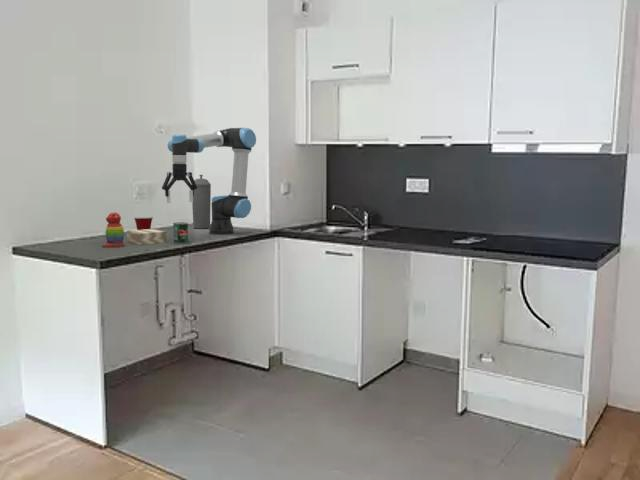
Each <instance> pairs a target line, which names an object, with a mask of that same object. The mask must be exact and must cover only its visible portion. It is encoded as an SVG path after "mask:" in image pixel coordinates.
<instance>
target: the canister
mask: <svg viewBox="0 0 640 480" xmlns="http://www.w3.org/2000/svg"><path fill="white" fill-rule="evenodd" d="M203 176H204V175H203V174H199V178H196V179H194V181H195V183H196V186H197V189H195V190H194V196H193V202H191V203H192V204H191V205H192V223H193V224H192V226H193V227H192V228H193V229H196V228H197V230H198V229H199V230H202V229H204V228H206V229H210V225H211V206H212V204H211V203H212V197H211V195H212V194H211V193H212V192H211V191H212V190H211V189H212V187H211V186H212V184H211V183H210V181H209V180H208V179H206V178H203Z"/></svg>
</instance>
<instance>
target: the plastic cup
mask: <svg viewBox="0 0 640 480" xmlns="http://www.w3.org/2000/svg"><path fill="white" fill-rule="evenodd" d="M133 219H134V221H135V224H136V225H135V226H136V230H143V229H152V222H153V219H154V217H153V216H152V217H151V216H144V217H143V216H139V217H133Z"/></svg>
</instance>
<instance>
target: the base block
mask: <svg viewBox="0 0 640 480" xmlns="http://www.w3.org/2000/svg"><path fill="white" fill-rule="evenodd" d="M167 233H168V232H167V231H165V230H162V229H161V230H160V229H158V228H157V229H156V228H151V229H143V230H137V229H132V230H131V229H130V230H126V242H128V243H131V244H135V245H138V246H141V245H153V244H166V243H167V242H168V238H167V237H168V235H167Z"/></svg>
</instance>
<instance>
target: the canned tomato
mask: <svg viewBox="0 0 640 480" xmlns="http://www.w3.org/2000/svg"><path fill="white" fill-rule="evenodd" d="M172 224H173V226H172V227H173V230H172V231H173V243H174V244H177V245H178V244H181V245H183V244H189V223H188V222H184V221H183V222H182V221H180V222H178V221H177V222H173V223H172Z"/></svg>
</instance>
